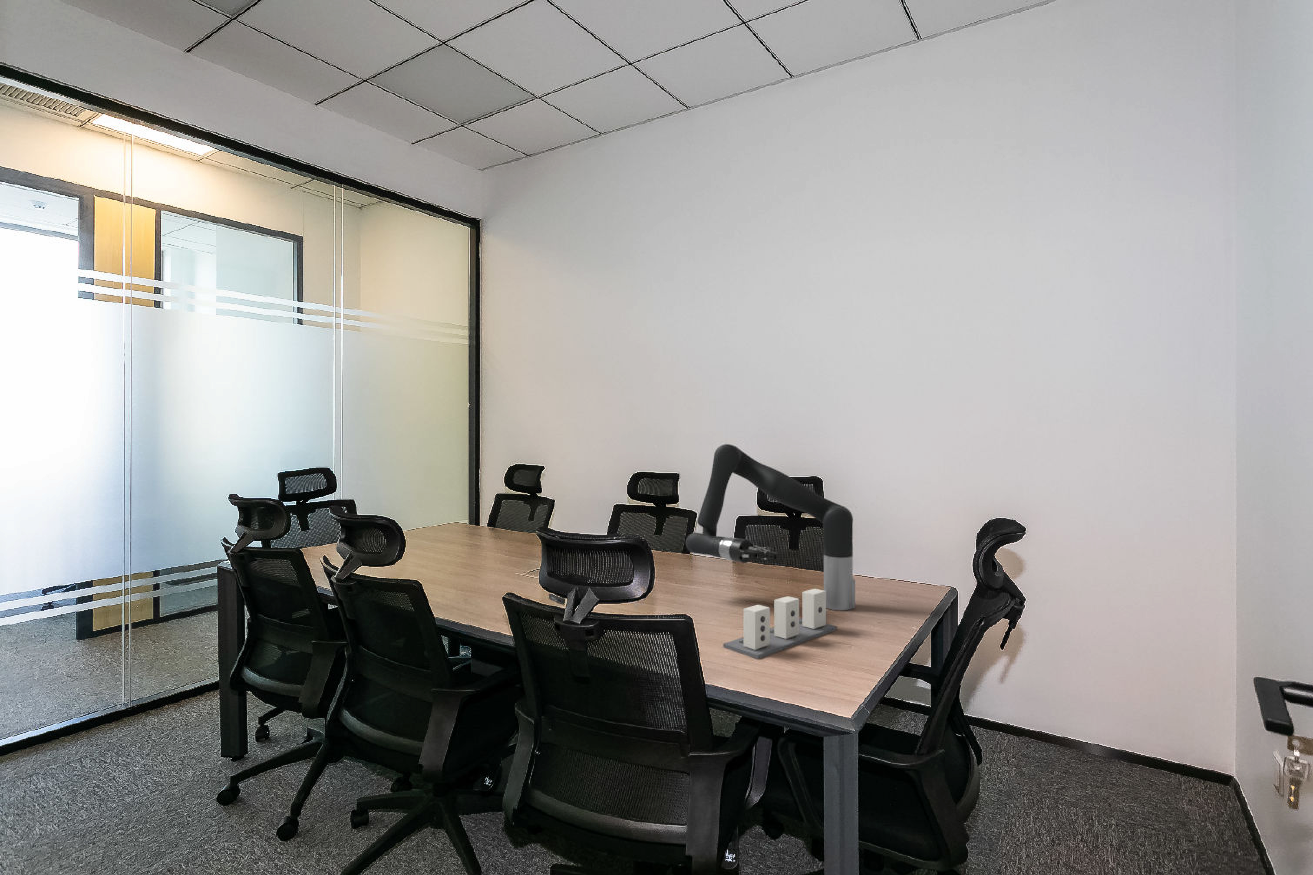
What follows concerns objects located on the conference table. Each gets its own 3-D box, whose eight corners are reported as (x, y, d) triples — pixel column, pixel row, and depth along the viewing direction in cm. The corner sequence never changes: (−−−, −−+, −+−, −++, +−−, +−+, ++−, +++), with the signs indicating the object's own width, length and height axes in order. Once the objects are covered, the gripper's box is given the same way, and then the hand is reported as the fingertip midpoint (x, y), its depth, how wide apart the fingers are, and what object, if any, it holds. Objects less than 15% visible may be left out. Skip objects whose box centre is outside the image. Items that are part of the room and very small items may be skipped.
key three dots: (743, 645, 175) (743, 608, 174) (758, 640, 179) (758, 604, 178) (755, 649, 171) (755, 612, 171) (770, 644, 175) (770, 607, 175)
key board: (723, 647, 177) (723, 643, 177) (803, 620, 201) (803, 616, 201) (757, 659, 168) (757, 654, 168) (837, 629, 192) (837, 625, 192)
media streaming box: (602, 600, 227) (601, 591, 227) (564, 607, 218) (564, 598, 218) (581, 591, 239) (581, 583, 239) (545, 597, 230) (544, 589, 230)
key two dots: (774, 635, 183) (774, 599, 183) (787, 630, 187) (787, 596, 187) (786, 639, 180) (786, 603, 180) (799, 634, 184) (799, 599, 184)
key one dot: (802, 625, 192) (802, 591, 192) (814, 621, 196) (814, 588, 196) (814, 629, 189) (814, 594, 188) (826, 624, 193) (826, 591, 192)
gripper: (721, 540, 210) (764, 547, 197) (748, 535, 219) (790, 541, 206) (722, 564, 211) (764, 572, 198) (749, 558, 219) (791, 565, 206)
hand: (777, 556), depth 202 cm, fingers closed
